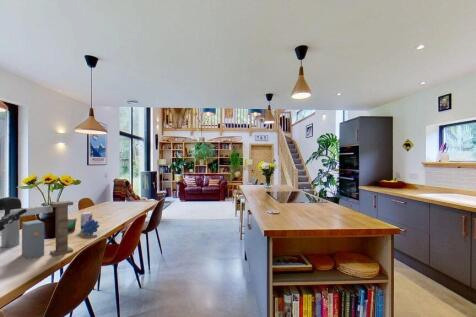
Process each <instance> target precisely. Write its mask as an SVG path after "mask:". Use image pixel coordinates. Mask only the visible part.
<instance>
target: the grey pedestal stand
mask: <svg viewBox="0 0 476 317" xmlns="http://www.w3.org/2000/svg"><path fill="white" fill-rule="evenodd" d="M49 205H50V206H52V207H53V208H55V249H53V250H50V251H49V254H50V255H52V256H53V257H58V256H60V255H61V254H62V255H66V254H69V253H73V252H74V249H73V248H72V247H70V246H69V245H68V242H69V241H68V240H69V234H68V233H69V232H68V219H69V215H68V214H69V213H68V212H69V208H68V207H69V206H74V201H71V200H61V201H55V202H54V201H53V202H49Z"/></svg>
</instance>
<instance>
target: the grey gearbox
mask: <svg viewBox="0 0 476 317" xmlns="http://www.w3.org/2000/svg"><path fill="white" fill-rule="evenodd" d="M21 255H22V256H23V257H25V258H26V259H28V260H30V259H33V258H39V257H41V256H44V255H45V222H44V221H41V220H39V219H35V220H30V221H23V222H21Z"/></svg>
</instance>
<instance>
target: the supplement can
mask: <svg viewBox="0 0 476 317" xmlns="http://www.w3.org/2000/svg"><path fill="white" fill-rule="evenodd" d="M91 220H93V213H92V212H91V211H89V212H88V211H86V212H82V213H81V215H80V232H81V233H83V232H82V230H83V229H84V228H83V225H85V224H86V222H87V221H91Z"/></svg>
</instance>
